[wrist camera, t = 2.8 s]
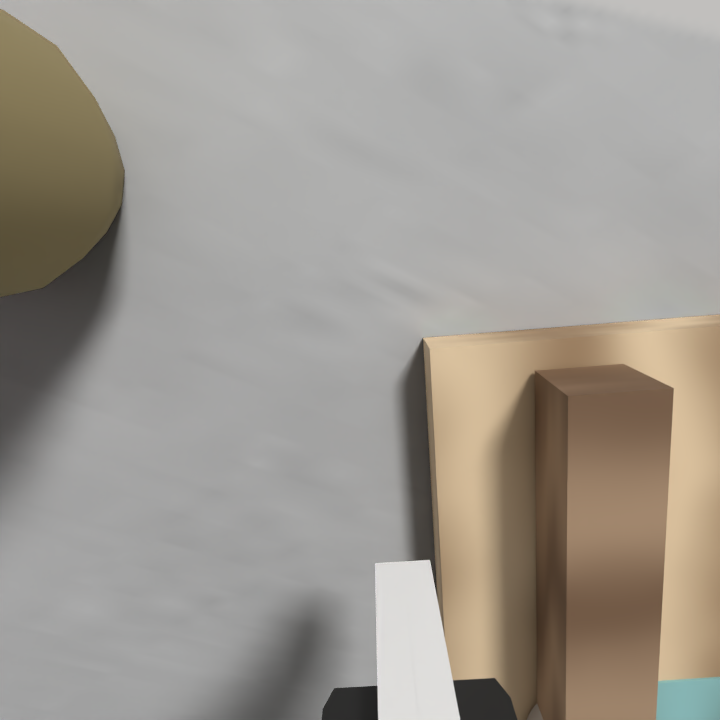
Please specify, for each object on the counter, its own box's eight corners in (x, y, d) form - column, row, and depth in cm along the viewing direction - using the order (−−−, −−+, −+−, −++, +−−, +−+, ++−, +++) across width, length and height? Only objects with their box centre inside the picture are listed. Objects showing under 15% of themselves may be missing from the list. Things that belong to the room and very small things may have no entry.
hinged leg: (623, 764, 22) (663, 845, 19) (525, 770, 22) (550, 852, 19) (638, 362, 18) (691, 387, 15) (520, 371, 18) (550, 397, 15)
